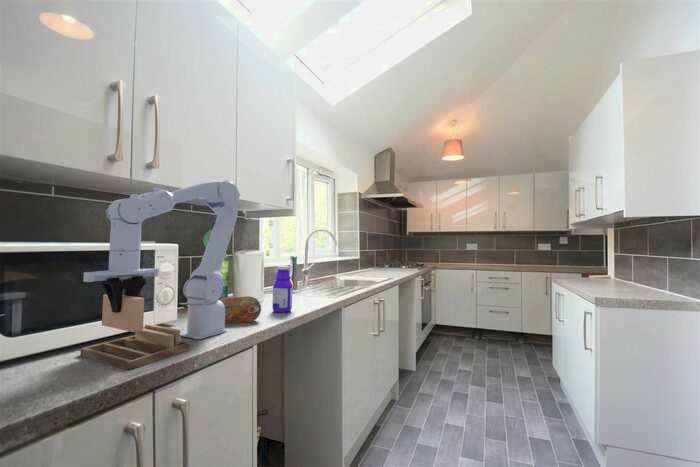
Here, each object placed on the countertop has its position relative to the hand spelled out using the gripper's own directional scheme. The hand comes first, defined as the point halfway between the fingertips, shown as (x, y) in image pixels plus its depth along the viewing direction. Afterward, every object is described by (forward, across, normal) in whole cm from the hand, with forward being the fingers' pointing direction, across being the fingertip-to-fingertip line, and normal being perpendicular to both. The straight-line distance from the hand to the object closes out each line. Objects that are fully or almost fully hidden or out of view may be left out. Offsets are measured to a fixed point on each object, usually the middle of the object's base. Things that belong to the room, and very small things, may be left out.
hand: (122, 311), depth 69 cm
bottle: (+10, -54, +3) cm, 56 cm away
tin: (+10, -34, 0) cm, 36 cm away
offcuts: (+10, -7, +1) cm, 12 cm away
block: (+4, 0, 0) cm, 4 cm away
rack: (+10, -4, +1) cm, 11 cm away
